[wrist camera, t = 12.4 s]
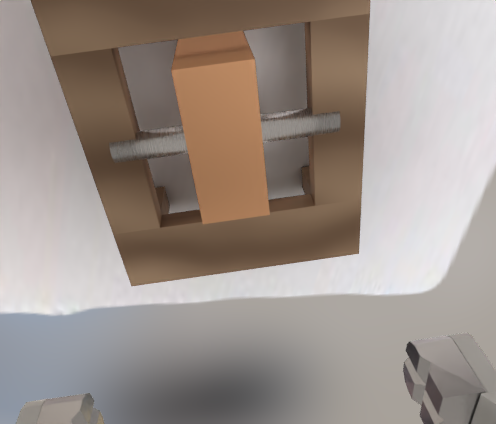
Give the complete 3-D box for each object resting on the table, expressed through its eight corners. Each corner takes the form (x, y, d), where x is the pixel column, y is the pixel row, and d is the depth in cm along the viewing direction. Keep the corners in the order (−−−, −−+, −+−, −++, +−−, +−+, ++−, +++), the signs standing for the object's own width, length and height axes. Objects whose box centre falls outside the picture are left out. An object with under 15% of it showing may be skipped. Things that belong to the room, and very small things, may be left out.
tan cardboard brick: (178, 36, 27) (171, 70, 20) (241, 27, 27) (254, 58, 20) (202, 163, 32) (202, 224, 25) (255, 156, 32) (269, 214, 25)
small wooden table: (71, -55, 27) (12, -50, 19) (321, -87, 27) (374, -97, 19) (147, 208, 38) (131, 286, 30) (324, 183, 38) (358, 253, 30)
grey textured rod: (112, 131, 25) (107, 142, 23) (333, 100, 25) (340, 109, 24) (119, 155, 26) (115, 167, 24) (333, 126, 26) (340, 136, 24)
